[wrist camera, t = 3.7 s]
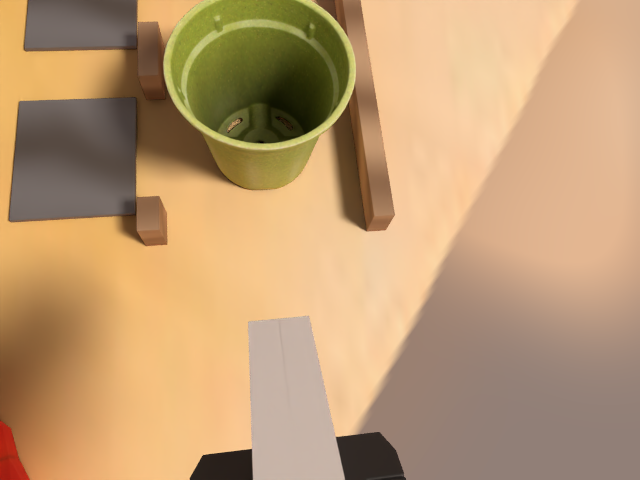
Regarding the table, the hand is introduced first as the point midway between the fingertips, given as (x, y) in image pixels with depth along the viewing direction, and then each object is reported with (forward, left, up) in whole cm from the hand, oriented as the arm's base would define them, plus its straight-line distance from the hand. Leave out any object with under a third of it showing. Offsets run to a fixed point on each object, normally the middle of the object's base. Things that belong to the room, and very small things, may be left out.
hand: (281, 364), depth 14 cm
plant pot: (+14, +7, -17) cm, 23 cm away
